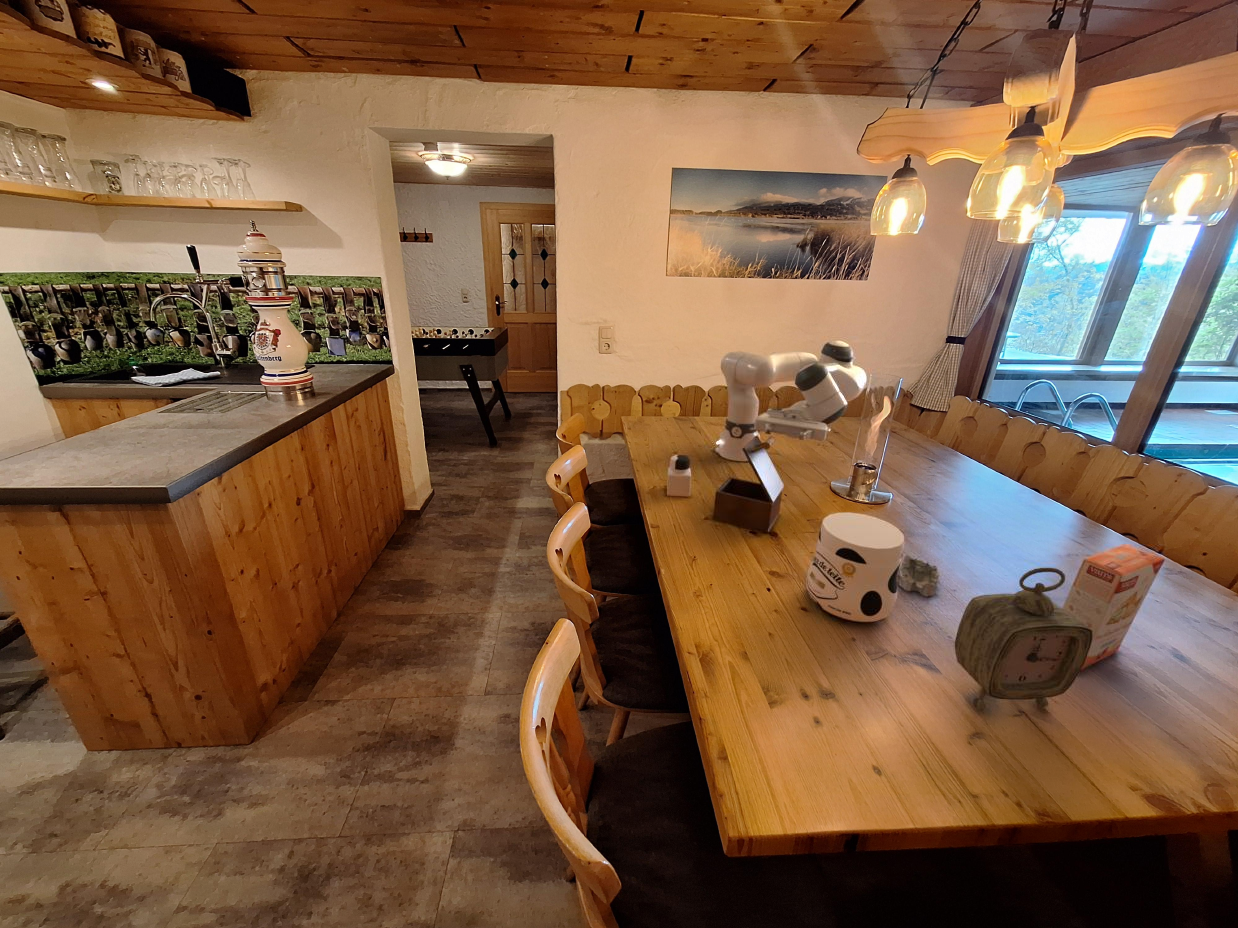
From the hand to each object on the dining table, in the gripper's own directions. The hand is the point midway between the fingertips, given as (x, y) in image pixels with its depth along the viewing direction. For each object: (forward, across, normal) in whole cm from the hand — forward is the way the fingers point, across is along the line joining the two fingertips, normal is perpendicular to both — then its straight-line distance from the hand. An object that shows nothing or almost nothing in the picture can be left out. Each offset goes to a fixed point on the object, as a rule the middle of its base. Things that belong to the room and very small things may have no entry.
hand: (784, 434), depth 137 cm
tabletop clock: (+50, -50, -24) cm, 74 cm away
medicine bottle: (+3, +30, -24) cm, 38 cm away
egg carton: (+20, -38, -24) cm, 49 cm away
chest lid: (+9, +3, -8) cm, 12 cm away
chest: (+9, +6, -24) cm, 26 cm away
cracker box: (+29, -65, -24) cm, 75 cm away
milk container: (+37, -25, -24) cm, 50 cm away
